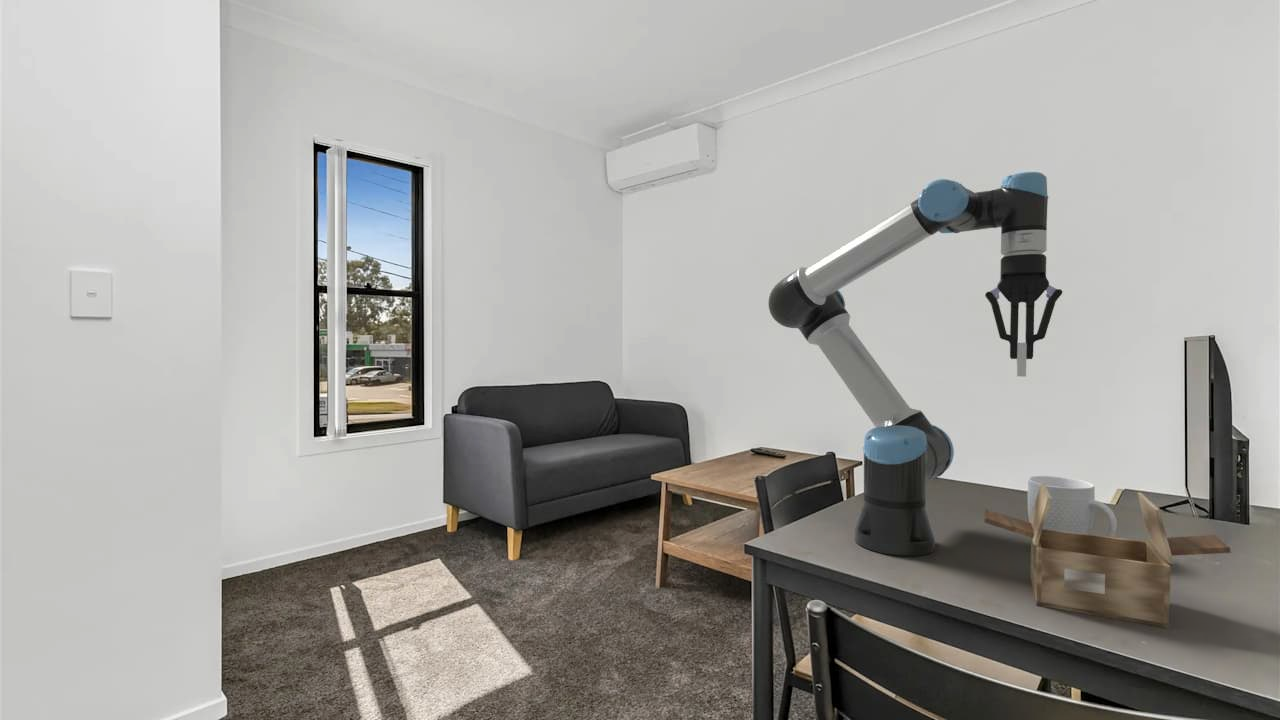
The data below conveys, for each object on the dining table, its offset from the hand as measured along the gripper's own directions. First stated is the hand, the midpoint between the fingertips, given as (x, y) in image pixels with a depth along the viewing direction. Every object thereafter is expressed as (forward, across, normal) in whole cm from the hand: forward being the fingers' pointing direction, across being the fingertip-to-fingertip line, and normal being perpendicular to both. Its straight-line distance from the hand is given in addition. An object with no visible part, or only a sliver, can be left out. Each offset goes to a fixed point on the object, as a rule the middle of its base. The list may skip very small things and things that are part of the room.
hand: (1021, 375), depth 119 cm
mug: (+35, +8, +5) cm, 36 cm away
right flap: (+21, +16, -22) cm, 35 cm away
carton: (+34, +9, -22) cm, 42 cm away
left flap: (+21, +2, -22) cm, 31 cm away
